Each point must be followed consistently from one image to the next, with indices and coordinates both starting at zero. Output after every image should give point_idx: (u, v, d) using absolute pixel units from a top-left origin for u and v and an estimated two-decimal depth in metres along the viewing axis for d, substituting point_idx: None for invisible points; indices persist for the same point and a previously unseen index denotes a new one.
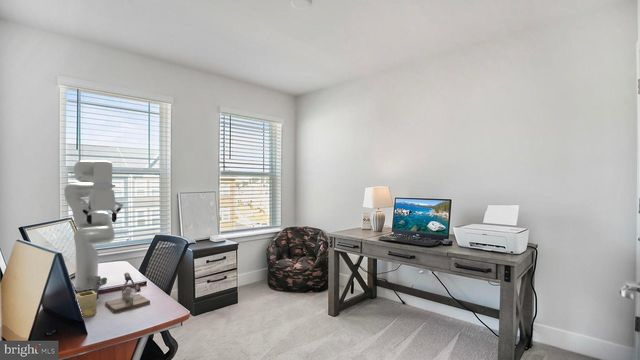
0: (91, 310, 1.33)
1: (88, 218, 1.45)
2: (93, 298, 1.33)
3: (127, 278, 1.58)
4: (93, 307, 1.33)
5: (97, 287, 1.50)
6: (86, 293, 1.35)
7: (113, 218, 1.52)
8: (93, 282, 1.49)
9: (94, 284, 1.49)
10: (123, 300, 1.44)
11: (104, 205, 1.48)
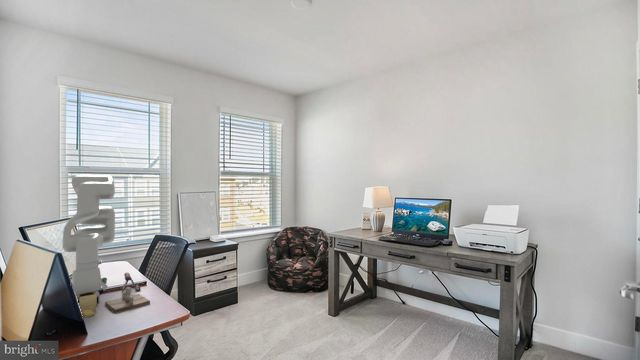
0: (91, 310, 1.33)
1: None
2: (93, 298, 1.33)
3: (127, 278, 1.58)
4: (93, 307, 1.33)
5: None
6: (86, 293, 1.35)
7: None
8: None
9: None
10: (123, 300, 1.44)
11: (88, 287, 1.32)
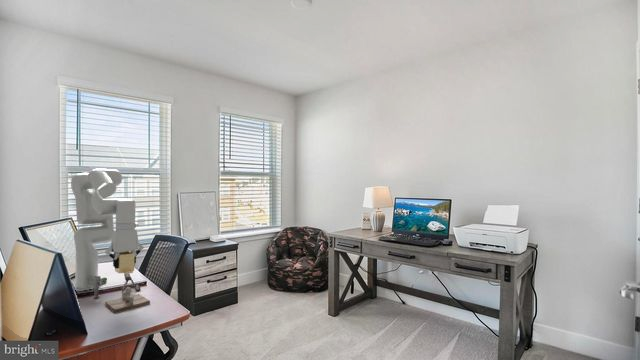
0: (129, 268, 1.41)
1: (115, 262, 1.39)
2: (131, 257, 1.42)
3: (127, 278, 1.58)
4: (131, 265, 1.42)
5: (97, 287, 1.50)
6: (124, 253, 1.44)
7: None
8: (93, 282, 1.49)
9: (94, 284, 1.49)
10: (123, 300, 1.44)
11: (126, 246, 1.41)
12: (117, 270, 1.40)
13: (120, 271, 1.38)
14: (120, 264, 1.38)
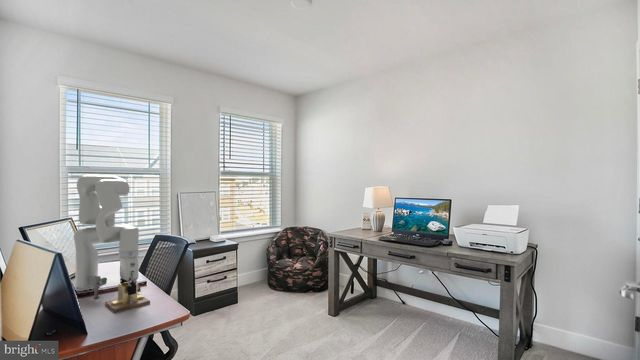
0: (121, 300, 1.40)
1: None
2: (122, 290, 1.40)
3: None
4: (121, 298, 1.40)
5: (97, 287, 1.50)
6: None
7: None
8: (93, 282, 1.49)
9: (94, 284, 1.49)
10: None
11: (122, 274, 1.41)
12: None
13: (118, 299, 1.42)
14: (118, 293, 1.42)
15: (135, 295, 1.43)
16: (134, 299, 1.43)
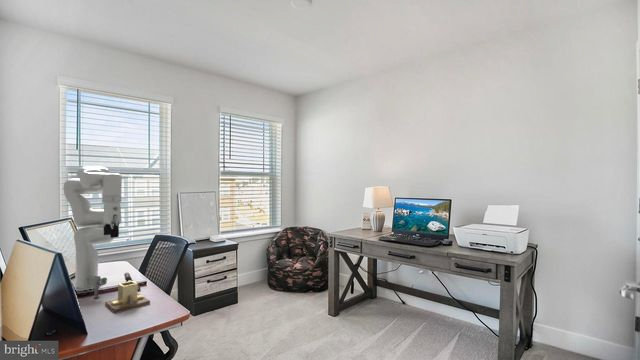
0: (121, 300, 1.40)
1: None
2: (122, 290, 1.40)
3: (127, 278, 1.58)
4: (121, 298, 1.40)
5: (97, 287, 1.50)
6: (133, 284, 1.45)
7: None
8: (93, 282, 1.49)
9: (94, 284, 1.49)
10: None
11: (105, 218, 1.46)
12: None
13: (118, 299, 1.42)
14: (118, 293, 1.42)
15: (135, 295, 1.43)
16: (134, 299, 1.43)
